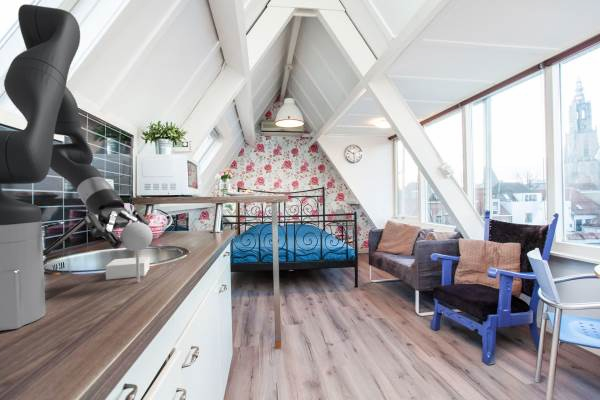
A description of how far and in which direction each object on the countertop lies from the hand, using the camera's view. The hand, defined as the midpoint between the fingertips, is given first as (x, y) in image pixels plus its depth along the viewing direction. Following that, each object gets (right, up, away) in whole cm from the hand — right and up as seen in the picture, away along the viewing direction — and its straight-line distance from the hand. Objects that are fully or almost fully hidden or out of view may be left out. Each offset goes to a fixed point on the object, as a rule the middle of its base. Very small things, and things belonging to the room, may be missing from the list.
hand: (134, 243), depth 76 cm
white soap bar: (-6, -10, +8) cm, 14 cm away
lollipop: (+1, -10, 0) cm, 10 cm away
